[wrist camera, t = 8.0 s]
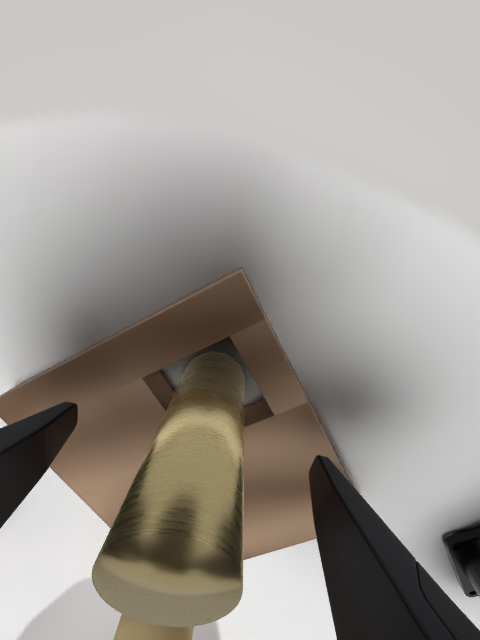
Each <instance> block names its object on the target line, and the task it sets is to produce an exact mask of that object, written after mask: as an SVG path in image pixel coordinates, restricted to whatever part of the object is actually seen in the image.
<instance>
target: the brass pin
mask: <svg viewBox="0 0 480 640" xmlns="http://www.w3.org/2000/svg"><path fill="white" fill-rule="evenodd" d="M244 408H245V376H244V372H243V369H242V367H241V365H240V364H239V363H238V362H237V361H236V360H235V359H234V358H233V357H231V356H229V355H227V354H225V353H221V352H205V353H202V354H200V355H198V356H196V357H195V358H193V359H192V360H191V361H190V362H189V364H188V365H187V368H186V370H185V372H184V374H183V376H182V378H181V380H180V382H179V385H178V387H177V389H176V391H175V393H174V395H173V397H172V399H171V402H170V404H169V406H168V408H167V410H166V412H165V414H164V417H163V419H162V421H161V423H160V425H159V427H158V429H157V431H156V434H155V436H154V438H153V440H152V442H151V444H150V446H149V448H148V451H147V453H146V455H145V457H144V459H143V461H142V463H141V466H140V468H139V470H138V472H137V474H136V476H135V478H134V480H133V483H132V485H131V487H130V489H129V491H128V493H127V495H126V497H125V500H124V502H123V504H122V506H121V508H120V510H119V512H118V515H117V517H116V519H115V521H114V523H113V525H112V527H111V529H110V532H109V534H108V536H107V538H106V540H105V542H104V544H103V546H102V549H101V551H100V553H99V555H98V557H97V559H96V561H95V564H94V566H93V570H92V581H93V584H94V587H95V589H96V591H97V592H98V594H99V595H100V597H101V598H102V599H103V600H104V601H105V602H106V603H107V604H109V605H110V606H111V607H113V608H114V609H115V610H117V611H118V612H120V613H122V614H124V615H126V616H128V617H130V618H133V619H136V620H138V621H141V622H145V623H149V624H153V625H159V626H166V627H191V626H197V625H203V624H207V623H210V622H213V621H216V620H218V619H220V618H222V617H224V616H226V615H227V614H229V613H230V612H231V611H232V610H233V609H234V608H235V607H236V606H237V605H238V603H239V601H240V599H241V596H242V591H243V510H244Z"/></svg>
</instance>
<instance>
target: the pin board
mask: <svg viewBox="0 0 480 640" xmlns="http://www.w3.org/2000/svg"><path fill="white" fill-rule="evenodd" d="M229 336H230V338H231V340H232V342H233V343H234V345H235V347H236V349H237V350H238V352H239V354H240V356H241V357H242V359H243V361H244V363H245V364H246V366H247V368H248V370H249V371H250V373H251V375H252V377H253V378H254V380H255V382H256V384H257V385H258V387H259V389H260V391H261V392H262V394H263V396H264V398H265V399H263V400H261V401H258V402H256V403H254V404H251V405H249V406H246V407H245V408H244V510H243V560H245V559H248V558H252V557H255V556H259V555H262V554H265V553H269V552H272V551H276V550H279V549H282V548H286V547H289V546H293V545H296V544H299V543H303V542H306V541H310V540H313V539H316V538H317V537H316V532H315V526H314V520H313V511H312V502H311V493H310V484H309V470H310V467H311V465H312V463H313V461H314V459H315V457H316V456H317V455H322V456H326V457H328V458H329V459H330V460H331V461H332V462H333V463H334V464H335V466H336V467H337V468H338V469H339V470H340V471H341V473H342V474H343V475H344V476H345V477H346V478H347V480H348V481H349V482H350V480H349V478H348V476H347V475H346V473H345V471H344V469H343V467H342V465H341V463H340V461H339V459H338V457H337V455H336V453H335V451H334V449H333V447H332V445H331V443H330V441H329V439H328V437H327V435H326V433H325V431H324V429H323V427H322V425H321V423H320V421H319V419H318V417H317V415H316V413H315V411H314V409H313V407H312V405H311V403H310V401H309V399H308V397H307V395H306V393H305V392H304V390H303V388H302V386H301V384H300V382H299V380H298V378H297V376H296V374H295V372H294V370H293V368H292V366H291V364H290V362H289V360H288V358H287V356H286V354H285V352H284V350H283V348H282V346H281V344H280V342H279V340H278V338H277V336H276V334H275V332H274V330H273V328H272V326H271V324H270V322H269V320H268V318H267V316H266V314H265V312H264V310H263V309H262V307H261V305H260V303H259V301H258V299H257V297H256V295H255V293H254V291H253V289H252V287H251V285H250V283H249V281H248V279H247V277H246V275H245V273H244V271H243V269H242V268H240V269H238V270H236V271H234V272H232V273H231V274H229V275H227V276H225V277H223V278H221V279H219V280H217V281H215V282H213V283H212V284H210V285H208V286H206V287H204V288H202V289H200V290H198V291H196V292H194V293H192V294H191V295H189V296H187V297H185V298H183V299H181V300H179V301H177V302H175V303H173V304H171V305H170V306H168V307H166V308H164V309H162V310H160V311H158V312H156V313H154V314H152V315H151V316H149V317H147V318H145V319H143V320H141V321H139V322H137V323H135V324H133V325H131V326H130V327H128V328H126V329H124V330H122V331H120V332H118V333H116V334H114V335H112V336H110V337H109V338H107V339H105V340H103V341H101V342H99V343H97V344H95V345H93V346H91V347H90V348H88V349H86V350H84V351H82V352H80V353H78V354H76V355H74V356H72V357H70V358H69V359H67V360H65V361H63V362H61V363H59V364H57V365H55V366H53V367H51V368H50V369H48V370H46V371H44V372H42V373H40V374H38V375H36V376H34V377H32V378H30V379H29V380H27V381H25V382H23V383H21V384H19V385H17V386H15V387H14V388H12V389H10V390H9V391H7V392H6V393H4V394H3V395H1V396H0V418H1V419H2V420H3V421H4V422H5V423H6V424H7V425H10V424H12V423H14V422H17V421H19V420H22V419H24V418H26V417H29V416H31V415H34V414H36V413H38V412H41V411H43V410H45V409H48V408H50V407H53V406H55V405H57V404H60V403H62V402H72V403H76V404H77V405H78V422H77V425H76V427H75V429H74V431H73V432H72V434H71V435H70V437H69V438H68V440H67V441H66V443H65V444H64V446H63V447H62V449H61V450H60V452H59V453H58V455H57V456H56V458H55V459H54V461H53V462H52V464H51V465H50V466H49V467H50V468H51V469H52V470H53V471H54V472H55V473H56V474H57V475H58V476H59V477H60V478H61V479H62V480H63V481H64V482H65V483H66V484H67V485H68V486H69V487H70V488H71V489H72V490H73V491H74V492H75V493H76V494H77V495H78V496H79V497H80V498H81V499H82V500H83V501H84V502H85V503H86V504H87V505H88V506H89V507H90V508H91V509H92V510H93V511H94V512H95V513H96V514H97V515H98V516H99V517H100V518H101V519H102V520H103V521H104V522H105V523H106V524H107V525H108V526H109V527H110V528H111V527H112V525H113V523H114V521H115V519H116V517H117V515H118V512H119V510H120V508H121V506H122V504H123V502H124V500H125V497H126V495H127V493H128V491H129V489H130V487H131V485H132V483H133V480H134V478H135V476H136V474H137V472H138V470H139V468H140V466H141V463H142V461H143V459H144V457H145V455H146V453H147V451H148V448H149V446H150V444H151V442H152V440H153V438H154V436H155V434H156V431H157V429H158V427H159V425H160V423H161V421H162V419H163V417H164V414H165V412H166V410H167V408H168V406H169V404H170V402H171V399H172V397H173V395H174V393H175V392H174V391H173V389H172V388H171V386H170V385H169V384H168V382H167V381H166V379H165V378H164V376H163V375H162V374H161V372H160V371H159V370H160V369H162V368H164V367H166V366H168V365H170V364H172V363H174V362H176V361H179V360H181V359H183V358H185V357H187V356H189V355H191V354H193V353H195V352H198V351H200V350H202V349H204V348H206V347H208V346H210V345H212V344H214V343H216V342H219V341H221V340H223V339H225V338H227V337H229ZM350 483H351V482H350ZM193 628H194V626H191V627H166V626H159V625H153V624H149V623H145V622H141V621H138V620H136V619H133V618H130V617H128V616H126V615H124V614H122V616H121V619H120V622H119V625H118V628H117V631H116V634H115V637H114V640H192V634H193Z"/></svg>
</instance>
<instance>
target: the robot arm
mask: <svg viewBox="0 0 480 640" xmlns="http://www.w3.org/2000/svg"><path fill="white" fill-rule="evenodd" d="M77 422H78V405H77V404H76V403H72V402H62V403H60V404H57V405H55V406H53V407H50V408H48V409H45V410H43V411H41V412H38V413H36V414H34V415H31V416H29V417H26V418H24V419H22V420H19V421H17V422H14V423H12V424H10V425H7V426H5V427H2V428H0V528H1V527H2V526H3V525H4V523H5V522H6V521H7V520H8V518H9V517H10V516H11V515H12V513H13V512H14V511H15V510H16V508H17V507H18V506H19V505H20V503H21V502H22V501H23V500H24V498H25V497H26V496H27V495H28V493H29V492H30V491H31V490H32V489H33V487H34V486H35V485H36V484H37V482H38V481H39V480H40V479H41V477H42V476H43V475H44V473H45V472H46V471H47V469H48V468H49V466H50V465H51V464H52V462H53V461H54V459H55V458H56V456H57V455H58V453H59V452H60V450H61V449H62V447H63V446H64V444H65V443H66V441H67V440H68V438H69V437H70V435H71V434H72V432H73V431H74V429H75V427H76V425H77ZM309 484H310V493H311V502H312V511H313V520H314V526H315V532H316V537H317V542H318V547H319V552H320V557H321V562H322V567H323V572H324V577H325V582H326V587H327V592H328V597H329V602H330V607H331V612H332V616H333V621H334V626H335V631H336V636H337V640H480V630H479V629H478V628H477V627H476V626H475V625H474V624H473V623H472V622H471V621H470V620H469V619H468V618H467V616H466V615H465V614H464V613H463V612H462V611H461V610H460V609H459V608H458V607H457V606H456V604H455V603H454V602H453V601H452V600H451V599H450V598H449V597H448V596H447V595H446V593H445V592H444V591H443V590H442V589H441V588H440V587H439V585H438V584H437V583H436V582H435V581H434V580H433V579H432V577H431V576H430V575H429V574H428V573H427V572H426V571H425V569H424V568H423V567H422V566H421V565H420V564H419V562H417V561H416V560H415V558H414V557H413V555H412V554H411V553H410V552H409V551H408V550H407V548H406V547H405V546H404V545H403V544H402V543H401V541H400V540H399V539H398V538H397V537H396V536H395V534H394V533H393V532H392V531H391V530H390V529H389V527H388V526H387V525H386V524H385V523H384V522H383V520H382V519H381V518H380V517H379V516H378V515H377V513H376V512H375V511H374V510H373V509H372V508H371V506H370V505H369V504H368V503H367V502H366V501H365V499H364V498H363V497H362V496H361V495H360V494H359V492H358V491H357V490H356V489H355V488H354V487H353V485H352V484H351V483H350V482H349V481H348V480H347V478H346V477H345V476H344V475H343V474H342V473H341V471H340V470H339V469H338V468H337V467H336V466H335V464H334V463H333V462H332V461H331V460H330V459H329V458H328V457H326V456H322V455H317V456H316V457H315V459H314V461H313V463H312V465H311V467H310V470H309ZM444 545H445V547H446V550H447V552H448V555H449V558H450V560H451V563H452V565H453V568H454V571H455V573H456V576H457V578H458V581H459V584H460V586H461V588H462V590H463V591H464V593H465V595H466V596H468V597H475V596H479V597H480V528H477V529H473V530H470V531H466V532H462V533H459V534H455V535H451V536H448V537H446V538H445V539H444Z"/></svg>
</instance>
